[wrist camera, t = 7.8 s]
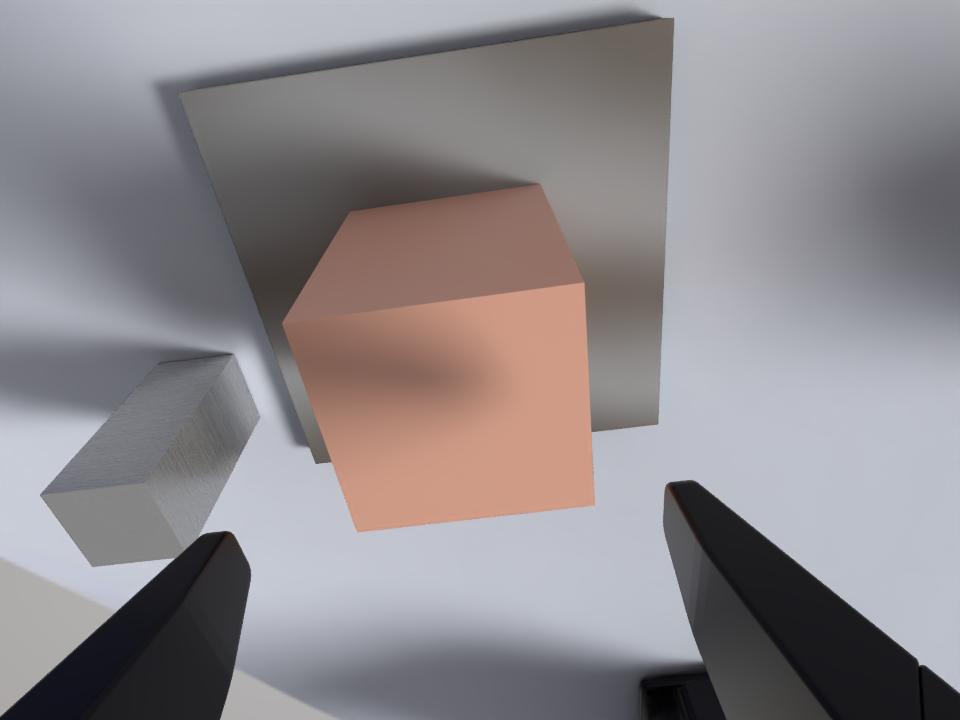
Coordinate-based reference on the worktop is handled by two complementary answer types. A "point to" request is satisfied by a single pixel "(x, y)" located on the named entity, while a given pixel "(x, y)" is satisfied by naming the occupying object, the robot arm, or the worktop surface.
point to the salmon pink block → (449, 360)
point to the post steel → (156, 463)
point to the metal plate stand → (463, 175)
